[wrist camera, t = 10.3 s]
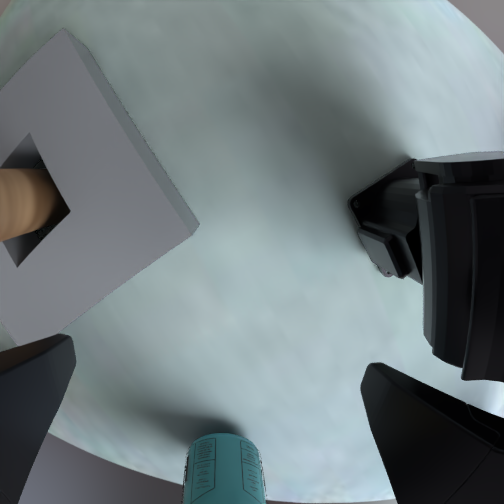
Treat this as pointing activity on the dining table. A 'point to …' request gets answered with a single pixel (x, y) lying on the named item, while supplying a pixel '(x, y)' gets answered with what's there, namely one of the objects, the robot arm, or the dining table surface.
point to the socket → (80, 192)
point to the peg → (28, 202)
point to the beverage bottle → (223, 471)
